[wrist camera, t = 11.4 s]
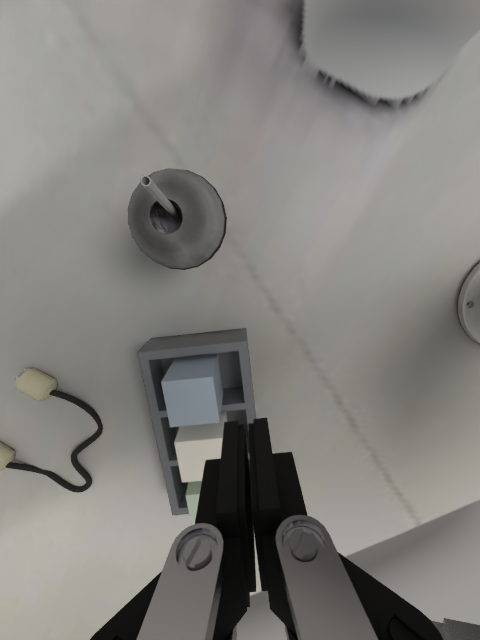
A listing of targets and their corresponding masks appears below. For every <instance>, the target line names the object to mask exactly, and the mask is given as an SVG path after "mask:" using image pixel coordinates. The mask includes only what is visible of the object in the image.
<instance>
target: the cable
mask: <svg viewBox="0 0 480 640" xmlns="http://www.w3.org/2000/svg"><path fill="white" fill-rule="evenodd" d="M23 370H24V371H25V372H24V373H23V374H22V375H21V376H16V378H15V380H17V382H16V385H15V388H16V390H18V391H20V392H22V393H24V394H26V395H28V396H30V397H32V398H33V399H35V400H37V401H43V400H45V399H47V398H49V397H50V396H51V395H52V396H56V397H59V398H62V399H65V400H67V401H70V402H72V403H74V404H76V405H78V406H79V407H81V408H82V409H84V410H85V411H86V412H88V413H89V414H90V415H91V416H92V417H93V419H94V420H95V421H96V423H97V425H98V430H97V431H96V433H95V434H94V435H93V436H92V437H90V438H89V439H88V440H86V441H85V442H84V443H82V444H81V445H80V446H79V447H77V448H76V449H75V450H74V451H73V453H72V455H71V462H72V465H73V466H74V468H75V469H76V470H77V471H78V473H79V474H80V475H81V476H82V477H83V478H84V479H85V480H86V484H85V485H84V486H82V487H78V486H74V485H72V484H70V483H68V482H66V481H65V480H63V479H62V478H61V477H59V476H58V475H56V474H55V473H53V472H51V471H47V470H42V469H40V468H37V467H35V466H31V465H25V464H19V463H13V462H12V460H13V459H14V457H15V451H14V450H12V449H11V448H9V447H8V446H6V445H5V444H3V443H2V442H0V471H1V470H3V469H4V468H12V469H19V470H25V471H31V472H36V473H40V474H44V475H46V476H48V477H50V478H51V479H52V480H54V481H55V482H57V483H58V484H59V485H61V486H62V487H64V488H66V489H68V490H70V491H73V492H83V491H85V490H87V489H88V488H89V487H90V486H91V484H92V479H91V477H90V475H89V474H88V473H87V472H86V471H85V470H84V469H83V467H82V466H81V465H80V464H79V462H78V460H77V455H78V454H79V453H80V452H81V451H82V450H83V449H84V448H86V447H87V446H88V445H90V444H91V443H92V442H94V441H95V440H96V439H97V438H98V437H99V436H100V435H101V433H102V430H103V425H102V422H101V419H100V417H99V416H98V414H97V413H96V412H95V411H94V410H93V409H92V408H91V407H90V406H89V405H87V404H86V403H84V402H83V401H81V400H79V399H77V398H75V397H73V396H71V395H69V394H66V393H63V392H60V391H57V390H56V388H57V380H56V379H54V378H52V377H50V376H48V375H46V374H44V373H43V372H41V371H39V370H37V369H35V368H31V369H28V368H24V369H23Z"/></svg>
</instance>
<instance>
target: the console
mask: <svg viewBox="0 0 480 640" xmlns="http://www.w3.org/2000/svg"><path fill="white" fill-rule="evenodd" d="M210 354H218V358H219V365H220V372H221V380H222V387H223V400H222V408H221V412H223V411H226V413H227V420H228V421H238V422H239V424H244V427H245V435H246V443H247V452H248V460H249V468H250V458H249V432H248V423H253V419H256V413H255V404H254V395H253V386H252V377H251V368H250V359H249V350H248V341H247V332H246V328H243V329H234V330H224V331H215V332H205V333H196V334H187V335H177V336H168V337H159V338H151V339H150V340H149V341H148V342H147V343H146V344H145V345H144V346H143V347H142V348H141V350H140V351H139V352H138V357H139V362H140V366H141V371H142V376H143V380H144V385H145V390H146V394H147V399H148V404H149V408H150V413H151V418H152V422H153V427H154V432H155V436H156V441H157V446H158V450H159V455H160V460H161V464H162V469H163V474H164V478H165V483H166V488H167V492H168V497H169V502H170V506H171V511H172V515H181V514H189V511H188V506H187V500H186V491H187V486H188V482H183V483H182V480H181V475H180V470H179V465H178V460H177V455H176V449H175V444H174V441H175V439H176V436H177V433H178V430H179V427H180V426H179V427H170V424H169V419H168V414H167V409H166V404H165V399H164V394H163V389H162V384H161V381H162V380H163V378H164V376H165V374H166V373H167V371H168V369H169V368H170V366H171V364H172V362H173V361H174V359H175V358H181V357H191V356H201V355H210Z"/></svg>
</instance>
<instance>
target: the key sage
mask: <svg viewBox="0 0 480 640" xmlns="http://www.w3.org/2000/svg"><path fill="white" fill-rule="evenodd" d="M201 483H202V481H194V482H188V486H187V491H186V500H187V506H188V511H189V516H190V521H191V526H192V525H194V524H195V519H196V513H197V507H198V501H199V495H200V489H201Z"/></svg>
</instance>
